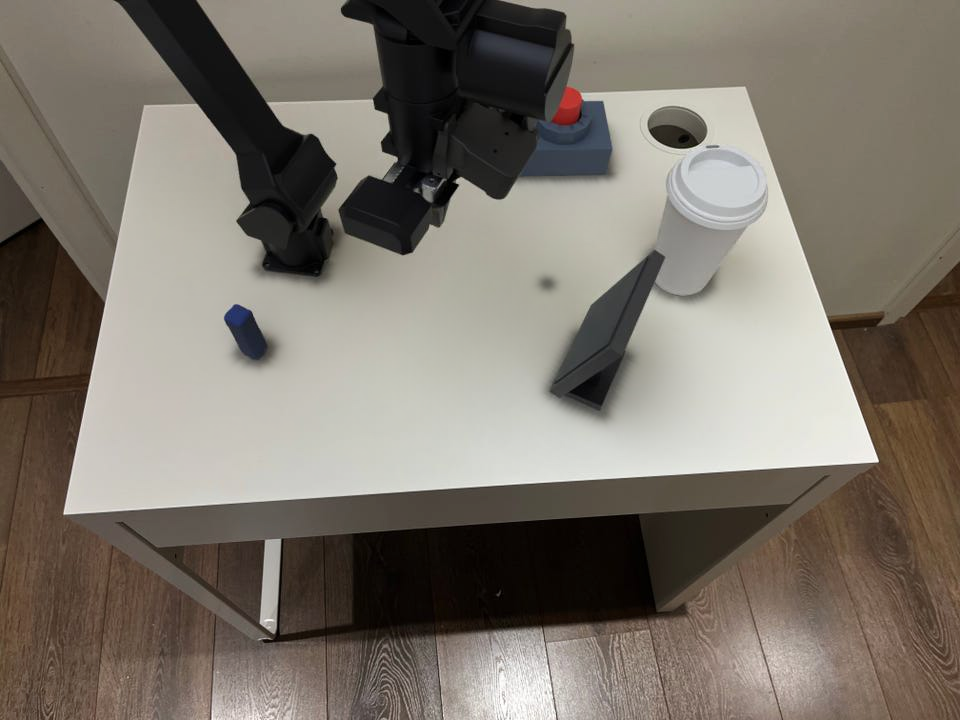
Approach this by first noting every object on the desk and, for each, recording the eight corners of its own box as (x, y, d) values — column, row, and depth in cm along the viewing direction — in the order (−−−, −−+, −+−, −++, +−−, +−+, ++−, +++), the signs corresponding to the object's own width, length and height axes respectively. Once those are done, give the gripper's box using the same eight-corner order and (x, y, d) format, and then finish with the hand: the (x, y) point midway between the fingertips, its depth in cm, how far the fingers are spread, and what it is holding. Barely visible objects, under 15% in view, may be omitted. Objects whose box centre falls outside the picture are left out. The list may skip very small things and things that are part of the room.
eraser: (257, 363, 71) (239, 327, 65) (240, 353, 71) (220, 316, 65) (271, 347, 71) (254, 310, 66) (253, 337, 72) (235, 300, 66)
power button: (549, 126, 80) (551, 108, 78) (546, 104, 82) (548, 86, 80) (580, 126, 80) (584, 108, 78) (576, 104, 82) (580, 86, 80)
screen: (547, 390, 66) (608, 346, 55) (589, 304, 71) (653, 248, 60) (559, 398, 66) (622, 355, 56) (600, 311, 71) (665, 256, 60)
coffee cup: (726, 248, 79) (779, 149, 66) (717, 316, 75) (772, 224, 62) (642, 229, 80) (678, 128, 67) (629, 296, 76) (665, 201, 63)
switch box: (515, 176, 84) (518, 138, 78) (510, 128, 88) (513, 89, 82) (606, 174, 84) (615, 136, 79) (597, 127, 88) (606, 88, 83)
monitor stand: (553, 390, 70) (560, 363, 65) (578, 337, 73) (587, 306, 68) (599, 411, 69) (611, 384, 64) (623, 355, 72) (636, 326, 67)
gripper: (465, 202, 44) (471, 334, 57) (575, 31, 52) (558, 182, 66) (315, 149, 46) (354, 287, 60) (443, -6, 55) (452, 146, 68)
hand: (436, 223), depth 63 cm, fingers closed
